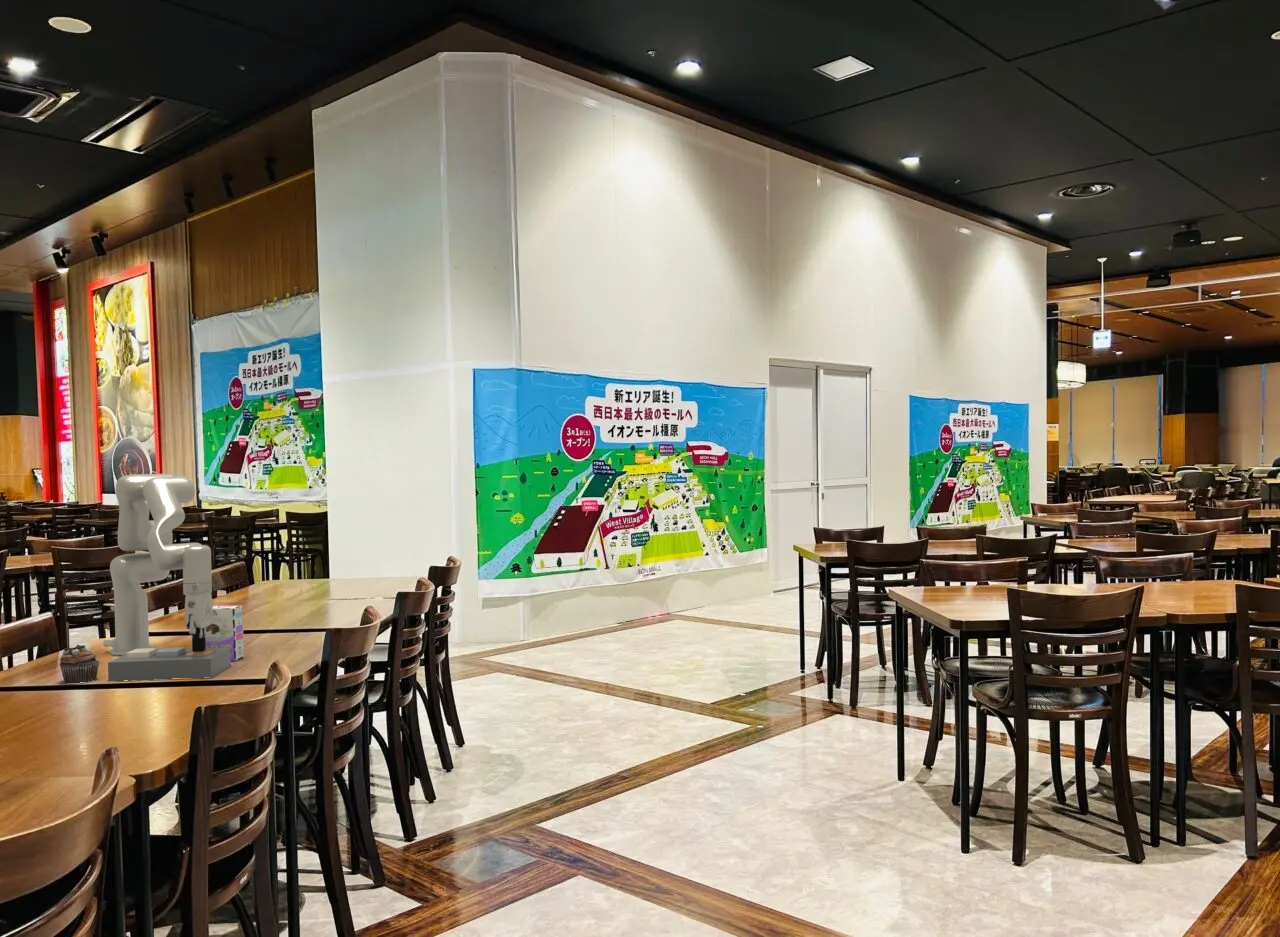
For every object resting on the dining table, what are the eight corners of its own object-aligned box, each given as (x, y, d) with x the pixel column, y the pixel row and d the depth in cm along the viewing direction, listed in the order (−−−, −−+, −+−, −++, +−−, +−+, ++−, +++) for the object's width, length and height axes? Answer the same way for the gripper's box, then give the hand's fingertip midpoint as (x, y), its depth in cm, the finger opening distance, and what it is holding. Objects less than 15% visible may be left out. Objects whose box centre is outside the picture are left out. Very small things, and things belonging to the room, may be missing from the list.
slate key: (156, 664, 278) (155, 651, 278) (164, 659, 284) (164, 647, 284) (177, 663, 279) (177, 651, 279) (186, 659, 285) (185, 647, 285)
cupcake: (82, 685, 269) (81, 649, 269) (52, 684, 271) (51, 648, 271) (107, 677, 279) (106, 642, 278) (78, 676, 280) (77, 641, 280)
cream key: (127, 665, 278) (126, 652, 278) (136, 660, 284) (136, 648, 284) (148, 664, 278) (148, 652, 278) (157, 659, 284) (157, 648, 284)
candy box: (245, 657, 302) (243, 604, 302) (235, 661, 296) (233, 607, 296) (202, 657, 304) (201, 605, 303) (192, 661, 298) (190, 608, 297)
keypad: (108, 681, 272) (107, 662, 272) (133, 669, 288) (133, 650, 288) (211, 678, 274) (210, 658, 274) (231, 665, 290) (230, 647, 290)
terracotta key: (185, 667, 279) (184, 655, 279) (193, 663, 285) (192, 651, 285) (206, 666, 279) (206, 654, 279) (214, 662, 285) (214, 650, 285)
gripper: (201, 591, 274) (202, 656, 275) (220, 584, 289) (221, 645, 290) (173, 592, 274) (175, 657, 274) (194, 584, 289) (195, 646, 289)
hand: (199, 651), depth 282 cm, fingers closed
